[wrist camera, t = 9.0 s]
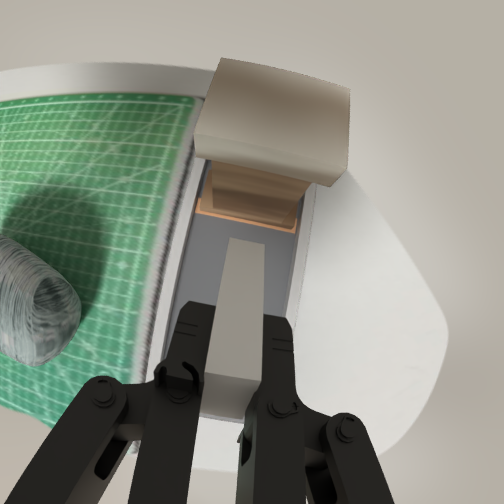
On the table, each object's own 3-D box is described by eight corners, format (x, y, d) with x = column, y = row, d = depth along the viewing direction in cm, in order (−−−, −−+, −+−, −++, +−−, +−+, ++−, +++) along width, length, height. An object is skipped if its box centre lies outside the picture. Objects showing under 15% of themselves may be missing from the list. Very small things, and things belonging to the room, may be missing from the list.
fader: (289, 238, 23) (358, 172, 11) (197, 219, 22) (180, 131, 11) (298, 185, 24) (359, 92, 12) (211, 166, 23) (210, 56, 11)
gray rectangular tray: (270, 410, 23) (279, 427, 19) (149, 388, 22) (137, 402, 18) (309, 182, 26) (324, 162, 23) (199, 158, 26) (197, 134, 22)
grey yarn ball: (108, 270, 20) (-11, 307, 11) (94, 365, 23) (9, 415, 13) (24, 206, 23) (-61, 215, 14) (17, 289, 26) (-54, 311, 16)
